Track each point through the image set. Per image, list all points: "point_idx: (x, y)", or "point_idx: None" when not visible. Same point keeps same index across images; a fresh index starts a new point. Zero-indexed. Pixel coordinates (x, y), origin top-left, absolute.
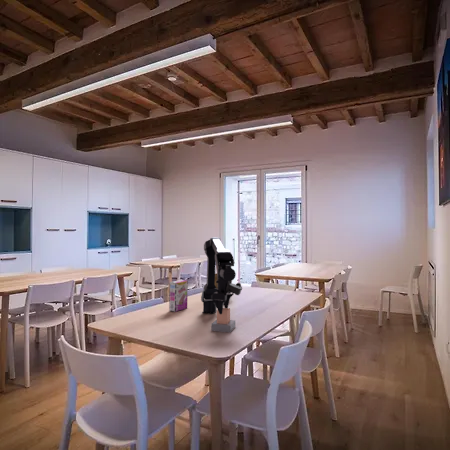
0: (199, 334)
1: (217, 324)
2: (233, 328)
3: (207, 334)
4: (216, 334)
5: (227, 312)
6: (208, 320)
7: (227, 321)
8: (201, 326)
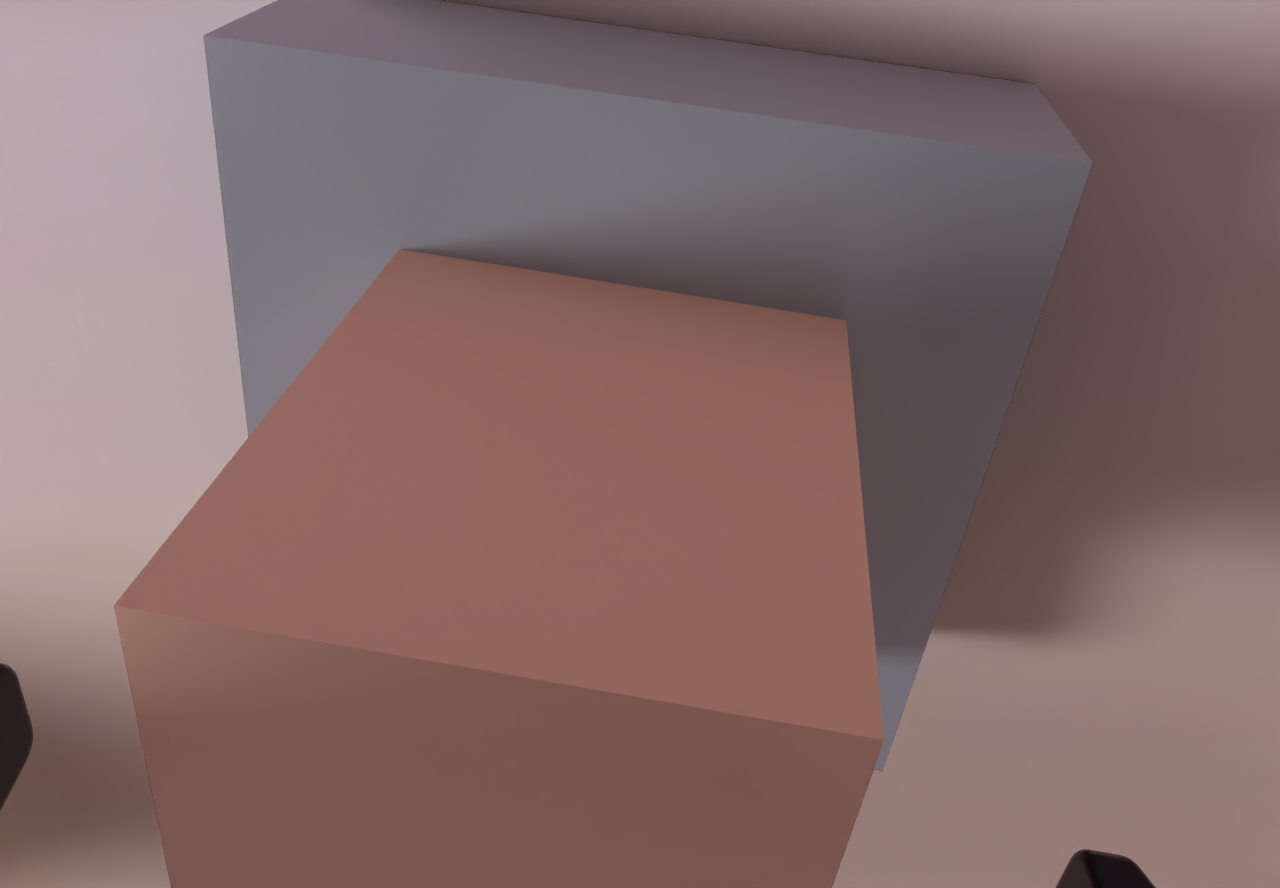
0: (1178, 822)
1: (923, 623)
2: (600, 25)
3: (1198, 682)
4: (1227, 485)
5: (809, 635)
6: (39, 744)
7: (809, 359)
8: None
